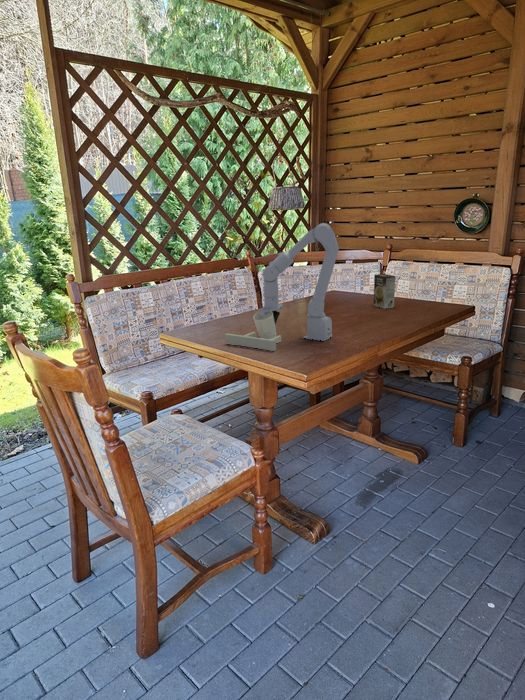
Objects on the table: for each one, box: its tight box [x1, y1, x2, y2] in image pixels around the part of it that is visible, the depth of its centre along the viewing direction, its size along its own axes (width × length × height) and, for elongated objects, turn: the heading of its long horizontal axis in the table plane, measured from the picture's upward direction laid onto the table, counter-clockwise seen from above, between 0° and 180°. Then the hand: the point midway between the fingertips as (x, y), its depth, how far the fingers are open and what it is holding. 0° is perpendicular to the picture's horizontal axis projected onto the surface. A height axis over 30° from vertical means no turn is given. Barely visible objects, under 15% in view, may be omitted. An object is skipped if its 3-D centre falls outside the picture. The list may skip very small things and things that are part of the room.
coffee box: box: [373, 273, 396, 310], centre depth 238 cm, size 9×6×16 cm
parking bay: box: [224, 331, 282, 352], centre depth 182 cm, size 22×13×4 cm, turn 57°
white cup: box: [252, 311, 278, 339], centre depth 186 cm, size 8×8×10 cm
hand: (271, 329), depth 191 cm, fingers closed, pressing on white cup
